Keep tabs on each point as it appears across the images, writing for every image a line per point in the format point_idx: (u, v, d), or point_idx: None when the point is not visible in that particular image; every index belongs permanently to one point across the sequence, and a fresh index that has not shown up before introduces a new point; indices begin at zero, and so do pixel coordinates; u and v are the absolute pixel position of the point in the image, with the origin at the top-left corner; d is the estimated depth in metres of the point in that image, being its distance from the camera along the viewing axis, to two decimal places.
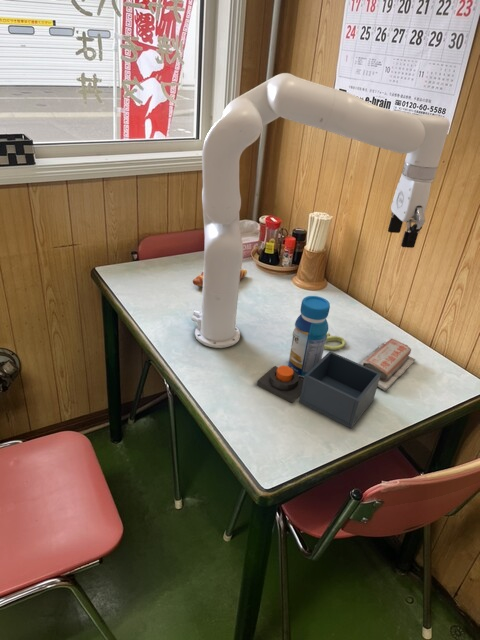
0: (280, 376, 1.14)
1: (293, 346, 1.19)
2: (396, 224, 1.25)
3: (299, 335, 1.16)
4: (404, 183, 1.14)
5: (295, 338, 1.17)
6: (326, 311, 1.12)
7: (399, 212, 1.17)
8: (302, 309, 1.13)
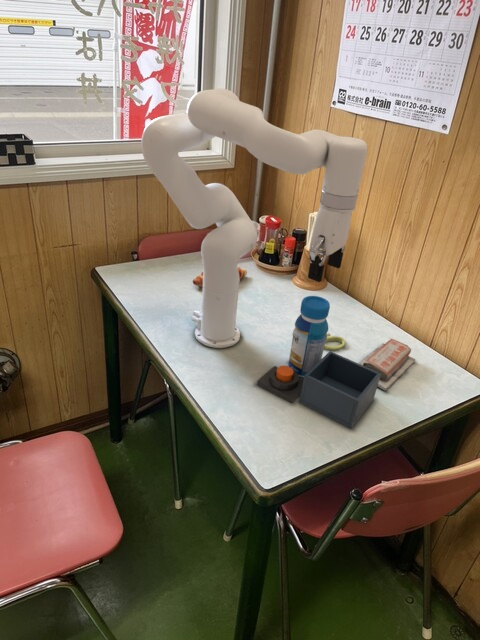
0: (280, 376, 1.14)
1: (293, 346, 1.19)
2: (334, 257, 1.12)
3: (299, 335, 1.16)
4: None
5: (295, 338, 1.17)
6: (326, 311, 1.12)
7: None
8: (302, 309, 1.13)
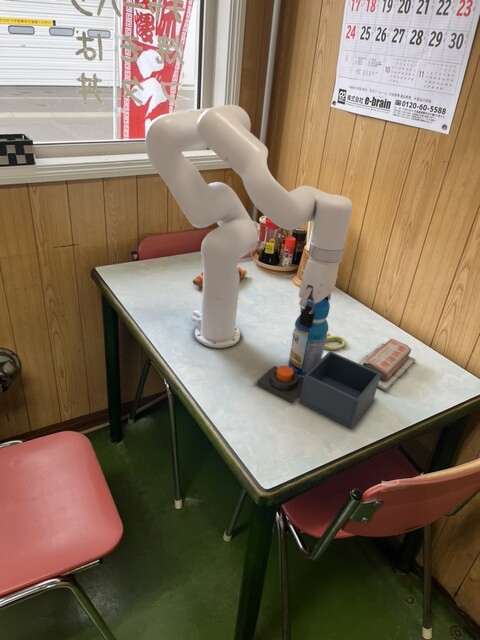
0: (280, 376, 1.14)
1: (293, 346, 1.19)
2: None
3: (299, 335, 1.16)
4: None
5: (295, 338, 1.17)
6: (326, 311, 1.12)
7: None
8: None
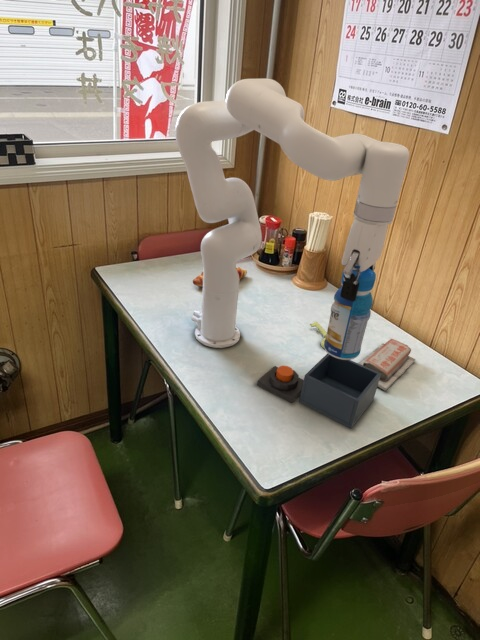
0: (280, 376, 1.14)
1: (331, 323, 1.04)
2: None
3: (339, 310, 1.01)
4: None
5: (334, 314, 1.02)
6: (372, 281, 0.97)
7: None
8: None
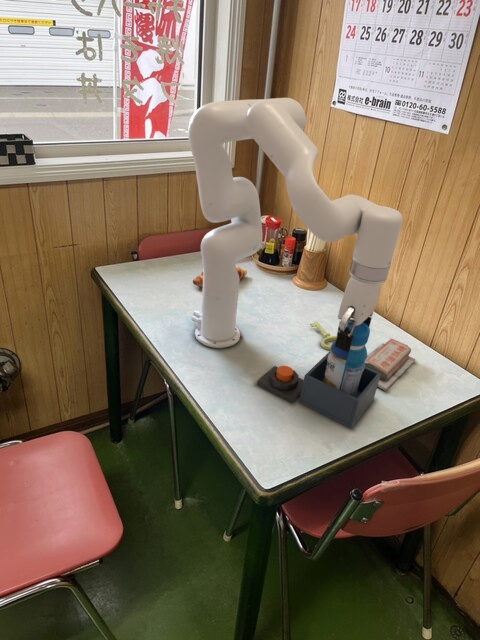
0: (280, 376, 1.14)
1: (328, 374, 1.09)
2: None
3: (335, 362, 1.06)
4: None
5: (331, 365, 1.07)
6: (366, 337, 1.02)
7: None
8: None
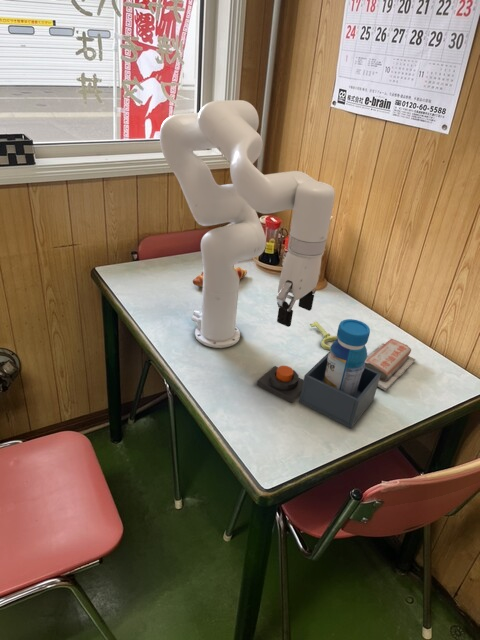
0: (280, 376, 1.14)
1: (328, 374, 1.09)
2: (305, 300, 1.09)
3: (335, 362, 1.06)
4: None
5: (331, 365, 1.07)
6: (366, 337, 1.02)
7: None
8: (339, 334, 1.03)
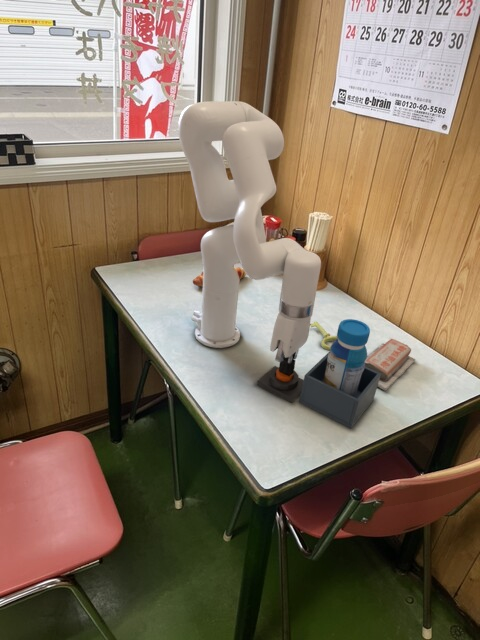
0: (279, 378, 1.14)
1: (328, 374, 1.09)
2: None
3: (335, 362, 1.06)
4: None
5: (331, 365, 1.07)
6: (366, 337, 1.02)
7: None
8: (339, 334, 1.03)
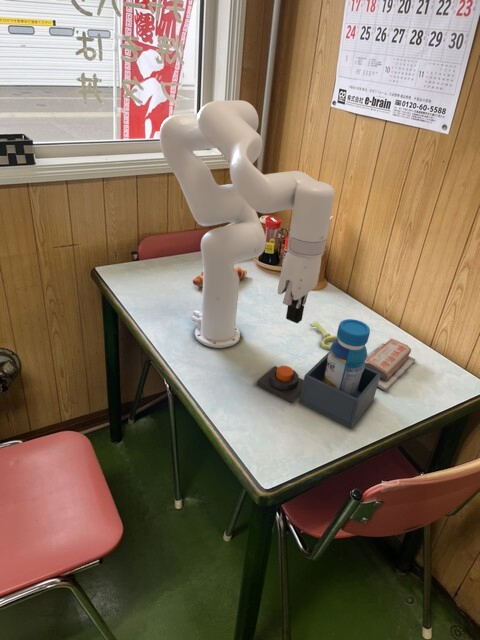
0: (280, 376, 1.14)
1: (328, 374, 1.09)
2: None
3: (335, 362, 1.06)
4: None
5: (331, 365, 1.07)
6: (366, 337, 1.02)
7: None
8: (339, 334, 1.03)
